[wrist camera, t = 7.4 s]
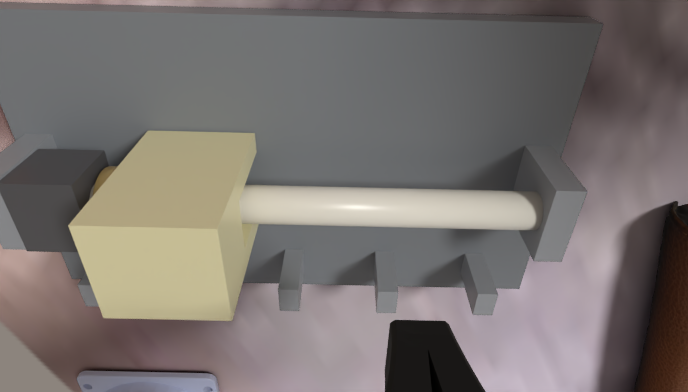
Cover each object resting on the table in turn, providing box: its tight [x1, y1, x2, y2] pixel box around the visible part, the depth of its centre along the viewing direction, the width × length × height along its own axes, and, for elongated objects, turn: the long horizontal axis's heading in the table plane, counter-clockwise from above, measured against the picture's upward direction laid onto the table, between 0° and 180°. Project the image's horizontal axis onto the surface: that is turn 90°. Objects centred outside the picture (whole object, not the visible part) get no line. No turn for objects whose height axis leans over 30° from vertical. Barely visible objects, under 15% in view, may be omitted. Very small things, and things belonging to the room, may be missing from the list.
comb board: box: [0, 2, 603, 315], centre depth 17 cm, size 21×12×4 cm, turn 89°
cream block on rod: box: [68, 131, 259, 321], centre depth 16 cm, size 4×4×6 cm
